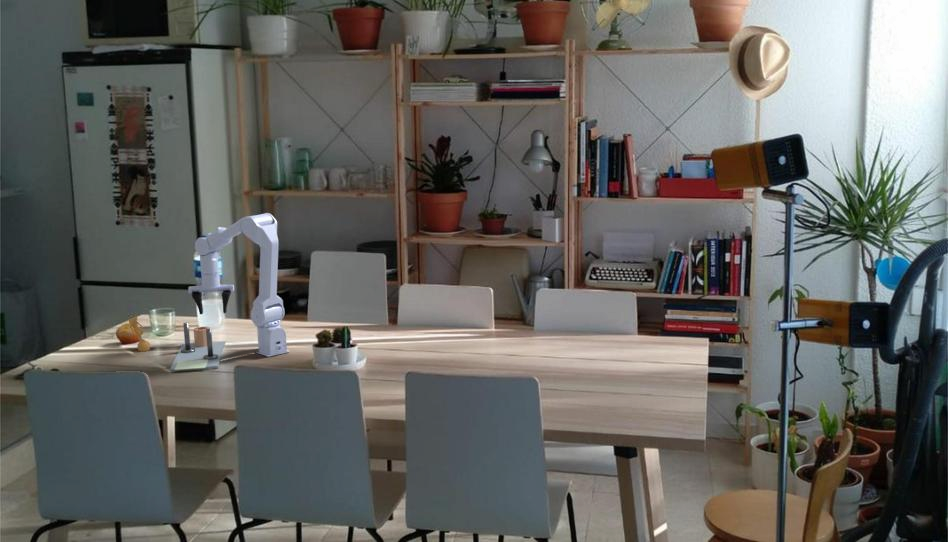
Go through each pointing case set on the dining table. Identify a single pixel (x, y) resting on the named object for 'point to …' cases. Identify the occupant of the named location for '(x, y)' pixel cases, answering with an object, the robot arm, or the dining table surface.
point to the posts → (189, 349)
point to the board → (200, 356)
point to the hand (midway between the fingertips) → (213, 313)
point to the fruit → (127, 334)
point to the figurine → (142, 344)
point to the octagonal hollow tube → (200, 336)
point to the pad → (191, 364)
